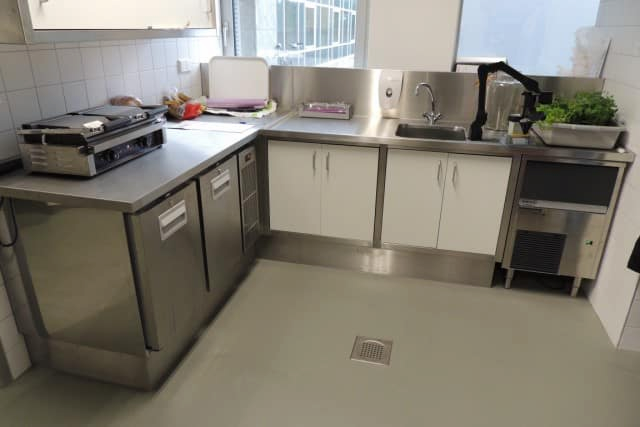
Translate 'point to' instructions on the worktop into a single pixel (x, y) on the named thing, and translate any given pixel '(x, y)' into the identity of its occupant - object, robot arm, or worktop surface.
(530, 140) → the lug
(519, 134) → the strap
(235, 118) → the worktop surface
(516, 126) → the skincare box
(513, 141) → the clamp base
